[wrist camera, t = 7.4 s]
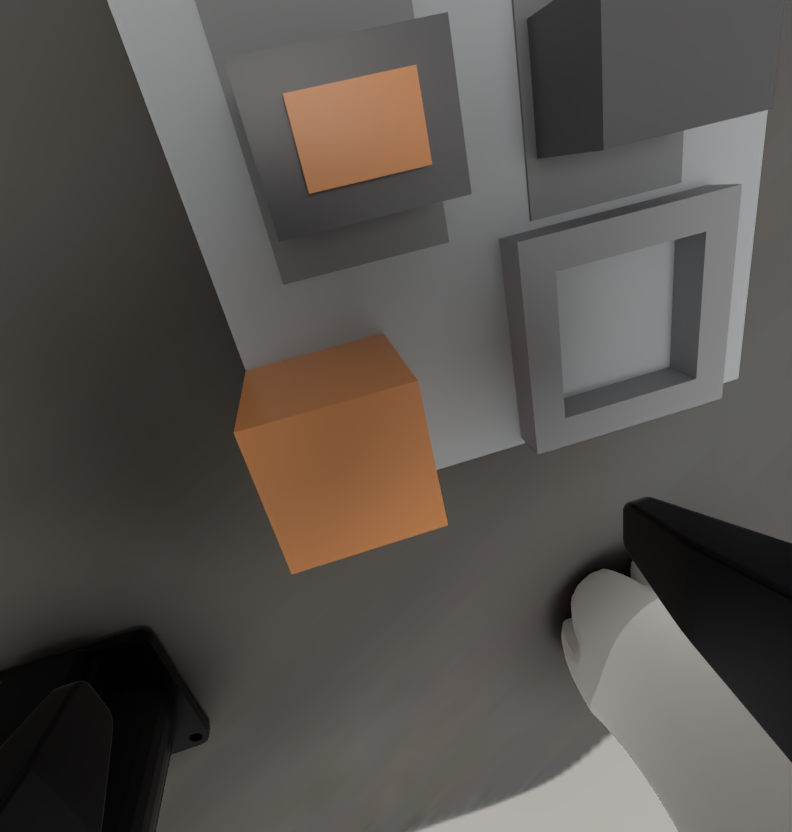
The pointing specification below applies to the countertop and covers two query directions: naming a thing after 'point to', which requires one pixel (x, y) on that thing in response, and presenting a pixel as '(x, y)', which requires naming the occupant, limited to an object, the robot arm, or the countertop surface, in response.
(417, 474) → the cap
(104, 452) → the countertop surface
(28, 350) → the countertop surface
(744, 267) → the panel
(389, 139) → the block
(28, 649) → the countertop surface
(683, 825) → the water bottle
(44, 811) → the robot arm
